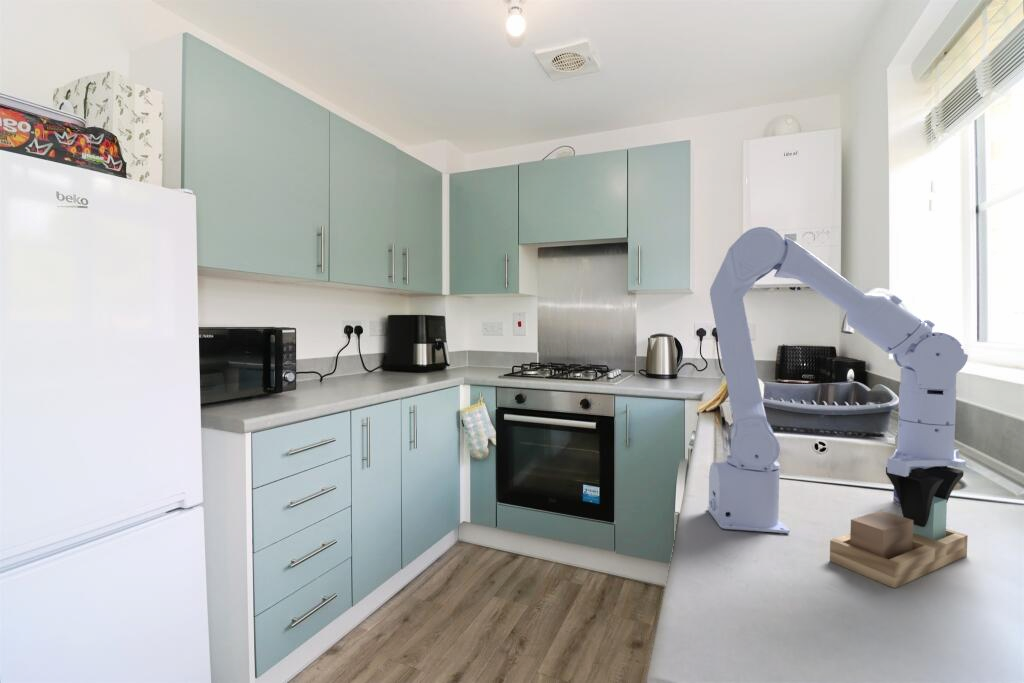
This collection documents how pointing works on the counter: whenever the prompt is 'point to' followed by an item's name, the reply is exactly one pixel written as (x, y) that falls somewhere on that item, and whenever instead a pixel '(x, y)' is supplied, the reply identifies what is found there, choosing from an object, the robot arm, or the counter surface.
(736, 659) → the counter surface
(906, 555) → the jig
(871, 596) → the counter surface
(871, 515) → the tan cardboard box
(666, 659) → the counter surface
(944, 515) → the block
